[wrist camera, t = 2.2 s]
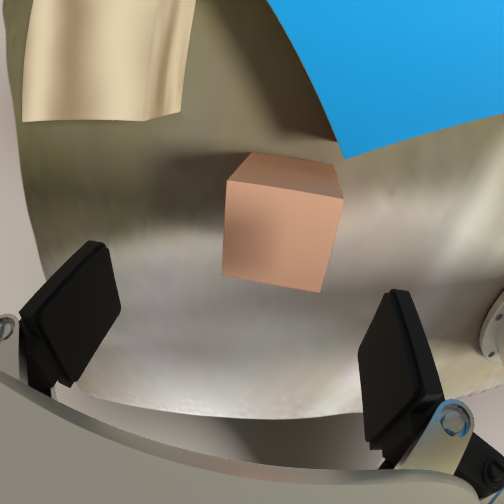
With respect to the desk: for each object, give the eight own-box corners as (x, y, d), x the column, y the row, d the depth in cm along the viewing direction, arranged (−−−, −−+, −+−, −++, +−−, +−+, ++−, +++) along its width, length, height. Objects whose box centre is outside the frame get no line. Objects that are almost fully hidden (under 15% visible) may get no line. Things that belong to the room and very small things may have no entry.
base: (203, -28, 12) (171, -56, 8) (181, 111, 17) (142, 121, 13) (82, -7, 13) (37, -15, 8) (68, 109, 18) (22, 122, 14)
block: (333, 165, 17) (343, 199, 12) (318, 237, 20) (319, 292, 15) (252, 152, 18) (227, 180, 13) (245, 224, 20) (221, 275, 15)
